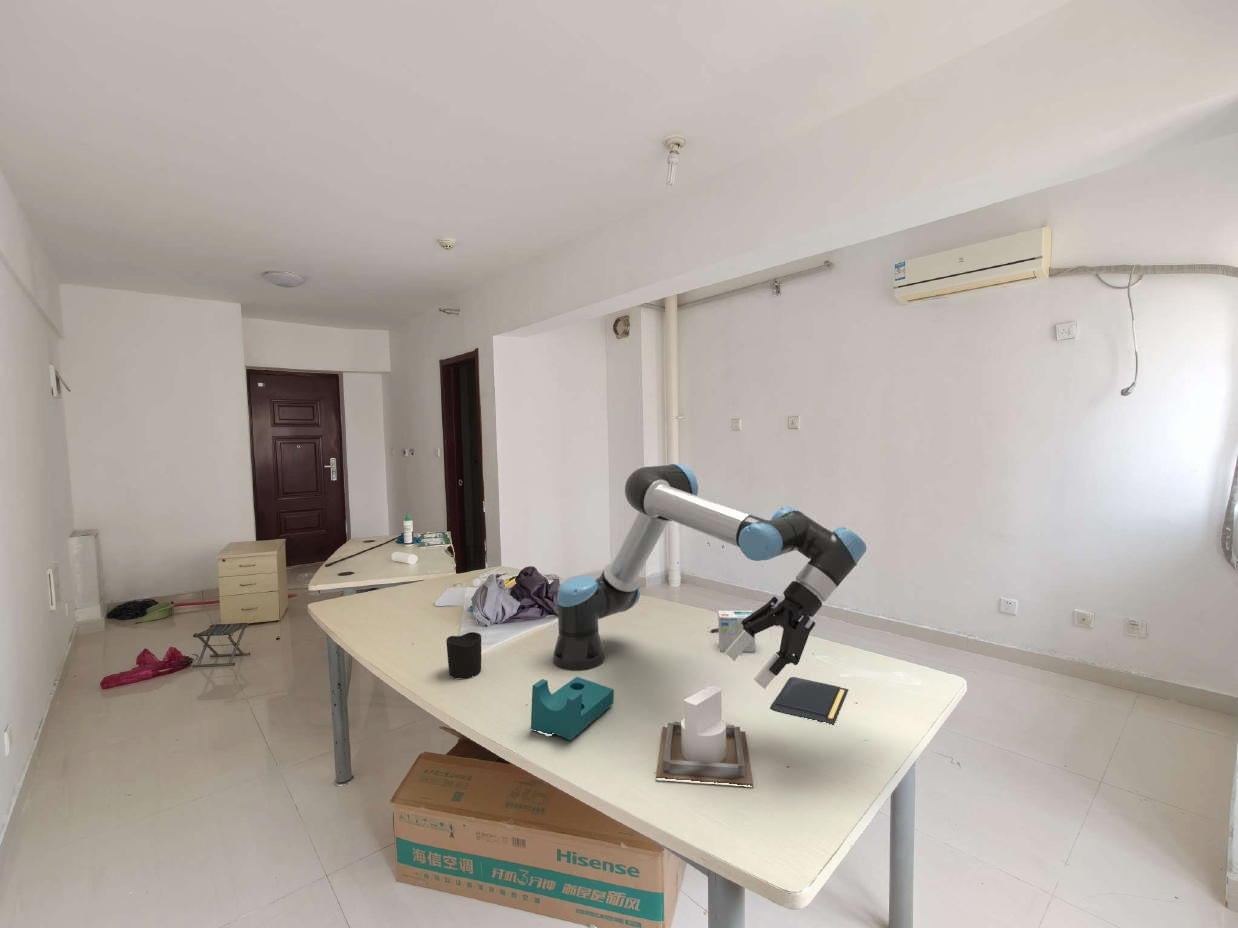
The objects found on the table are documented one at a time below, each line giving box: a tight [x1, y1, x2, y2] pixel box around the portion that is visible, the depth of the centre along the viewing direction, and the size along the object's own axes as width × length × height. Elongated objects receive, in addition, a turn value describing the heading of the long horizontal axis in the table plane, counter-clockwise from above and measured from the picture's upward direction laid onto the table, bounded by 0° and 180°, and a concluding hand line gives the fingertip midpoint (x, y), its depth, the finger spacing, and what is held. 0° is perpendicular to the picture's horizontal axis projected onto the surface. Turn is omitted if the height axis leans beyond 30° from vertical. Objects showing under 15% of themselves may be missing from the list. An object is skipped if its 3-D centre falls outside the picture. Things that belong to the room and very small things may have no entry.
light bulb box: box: [717, 610, 756, 653], centre depth 169 cm, size 11×7×11 cm, turn 84°
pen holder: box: [445, 631, 482, 679], centre depth 155 cm, size 9×9×10 cm
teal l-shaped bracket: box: [530, 676, 615, 741], centre depth 129 cm, size 18×11×10 cm, turn 150°
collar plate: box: [655, 721, 754, 787], centre depth 113 cm, size 18×18×3 cm
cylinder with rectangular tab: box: [680, 685, 727, 763], centre depth 113 cm, size 9×9×12 cm
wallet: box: [769, 676, 849, 726], centre depth 136 cm, size 20×2×15 cm
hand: (743, 669), depth 114 cm, fingers open, 13 cm apart
